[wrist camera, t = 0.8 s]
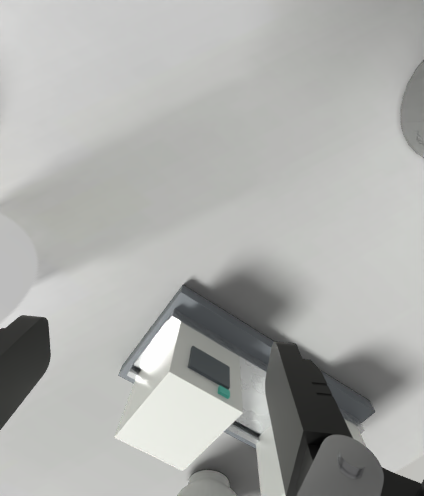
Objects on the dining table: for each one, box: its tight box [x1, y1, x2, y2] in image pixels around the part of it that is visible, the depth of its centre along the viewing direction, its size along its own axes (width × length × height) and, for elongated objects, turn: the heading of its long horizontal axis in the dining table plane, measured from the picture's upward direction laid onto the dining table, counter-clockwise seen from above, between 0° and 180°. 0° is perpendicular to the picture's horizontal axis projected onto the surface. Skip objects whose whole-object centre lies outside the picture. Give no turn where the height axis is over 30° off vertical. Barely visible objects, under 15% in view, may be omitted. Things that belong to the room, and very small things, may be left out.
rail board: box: [118, 285, 375, 449], centre depth 34 cm, size 26×13×2 cm, turn 55°
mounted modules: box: [114, 322, 366, 496], centre depth 29 cm, size 23×9×7 cm, turn 55°
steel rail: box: [127, 309, 364, 445], centre depth 33 cm, size 25×9×1 cm, turn 55°
